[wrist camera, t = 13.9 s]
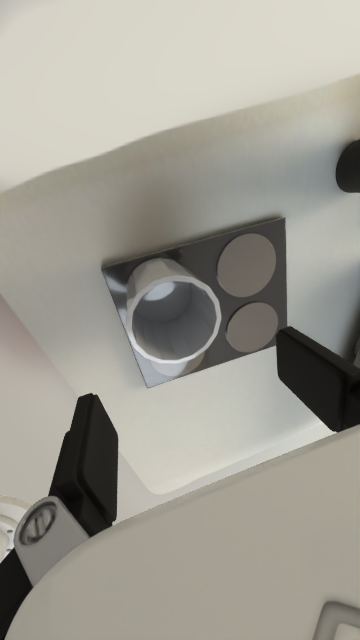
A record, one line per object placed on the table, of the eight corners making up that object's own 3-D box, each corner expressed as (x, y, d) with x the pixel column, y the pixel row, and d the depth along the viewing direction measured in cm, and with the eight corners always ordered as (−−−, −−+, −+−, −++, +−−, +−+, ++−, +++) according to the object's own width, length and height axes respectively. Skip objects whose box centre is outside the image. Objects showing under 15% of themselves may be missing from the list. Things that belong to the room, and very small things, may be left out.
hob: (146, 383, 30) (147, 390, 29) (101, 266, 23) (100, 268, 22) (283, 338, 32) (289, 342, 31) (280, 217, 25) (287, 217, 24)
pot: (138, 331, 25) (143, 375, 18) (115, 268, 22) (111, 292, 15) (198, 312, 26) (226, 348, 19) (185, 249, 23) (213, 263, 16)
